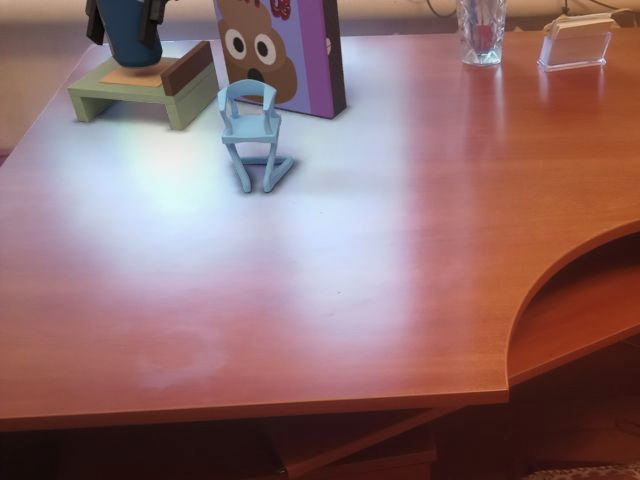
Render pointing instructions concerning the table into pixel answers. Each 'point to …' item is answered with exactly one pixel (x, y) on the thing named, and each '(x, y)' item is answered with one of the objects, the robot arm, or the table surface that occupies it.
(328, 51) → the cereal box
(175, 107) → the shelf
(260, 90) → the chair
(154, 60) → the soda can
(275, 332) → the table surface
